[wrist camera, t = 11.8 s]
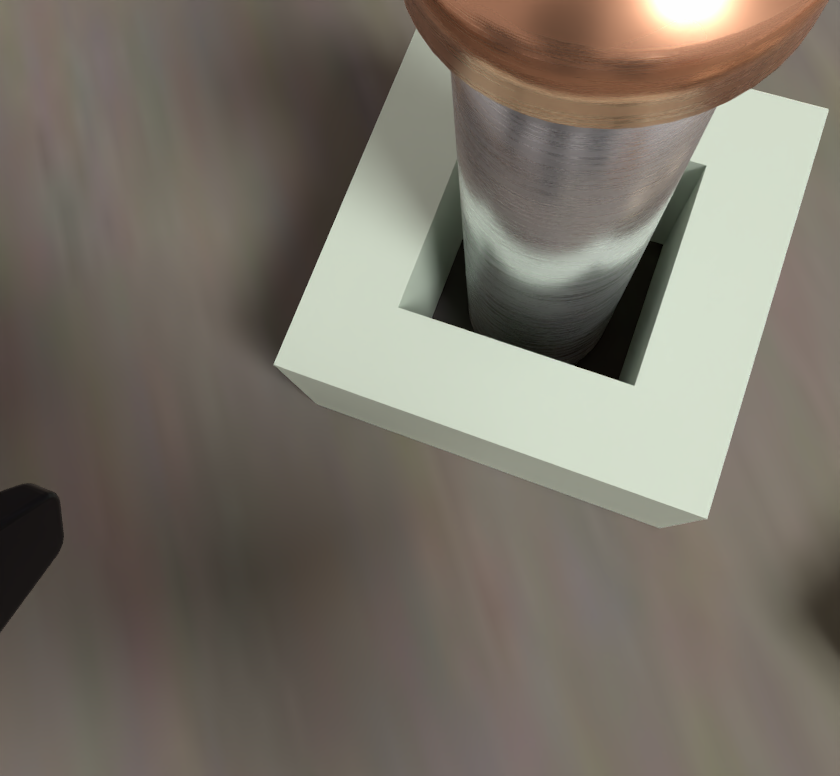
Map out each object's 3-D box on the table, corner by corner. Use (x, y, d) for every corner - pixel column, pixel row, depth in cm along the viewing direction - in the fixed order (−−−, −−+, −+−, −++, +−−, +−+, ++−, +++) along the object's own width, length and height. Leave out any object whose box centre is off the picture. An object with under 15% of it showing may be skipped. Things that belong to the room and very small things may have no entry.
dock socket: (659, 528, 18) (706, 519, 14) (316, 404, 19) (273, 364, 15) (761, 199, 20) (828, 109, 16) (438, 107, 21) (426, 4, 17)
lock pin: (518, 427, 19) (581, 148, 6) (415, 287, 20) (289, -195, 7) (666, 323, 19) (1018, -149, 6) (556, 191, 20) (672, -437, 7)
